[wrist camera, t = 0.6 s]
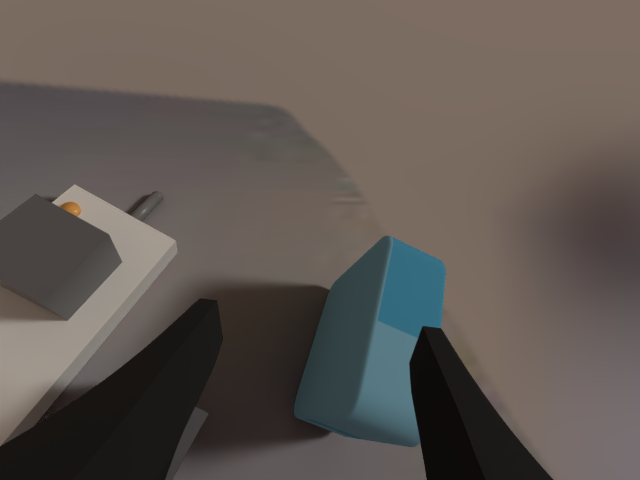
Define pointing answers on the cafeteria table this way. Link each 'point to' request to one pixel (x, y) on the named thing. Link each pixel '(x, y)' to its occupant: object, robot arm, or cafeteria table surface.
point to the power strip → (77, 341)
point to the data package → (372, 345)
